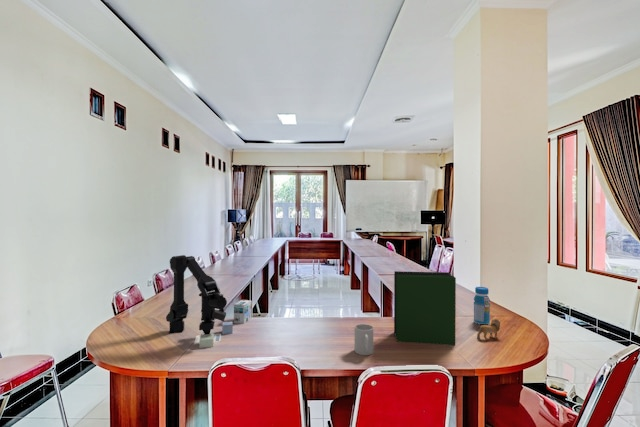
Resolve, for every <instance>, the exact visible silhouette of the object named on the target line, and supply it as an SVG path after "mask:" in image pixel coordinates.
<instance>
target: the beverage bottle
mask: <svg viewBox="0 0 640 427" xmlns="http://www.w3.org/2000/svg"><path fill="white" fill-rule="evenodd" d="M474 290H475V295H474V298H473V300H474V302H473V322H474V323H475V324H477V323H478V324H477V325H480V324H488V325H490V324H491V323H490V321H491V320H490V315H491V314H490V312H491V304H490V302H491V300H490V298H489V287H485V286H476V287H475V289H474ZM489 323H490V324H489Z"/></svg>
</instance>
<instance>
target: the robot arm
mask: <svg viewBox="0 0 640 427" xmlns="http://www.w3.org/2000/svg"><path fill="white" fill-rule="evenodd" d="M169 267H170V270H171V271H172V273H173V301H172V303H171V305H170V308H169V312H168V313H167V315H166V316H165V318H166V322H169V332H168V334H169V335H170V334H171V335H172V334H179V333H183V331H185V320H184V319H187V316H188V312H189V303H186V301H185V272H186V270H187V269H188V270H189V271H190V273H191V274H192V276H193V277H194V278H195V280H196V281H197V285H196V286H197V287H198V290H199V291H200V293H199V294H198V296H199V297H201V308H200V309H201V310H200V313H201V318H200V320H201V321H200V323H199V324H198V325H199V326H198V330H199V331H202V332H203V334H211V330H214V327H215V323H216V322H215V320H218V321H221V322H225V319H226V317H227V312H226V311H225V308H226V307H227V304H228V301H227V299H226V297H224V294H222V293H221V290H220V288H219V285H218V284H217V281H216V280H215V279H214V278H213V277H212V276H210V275H208V274H207V273H205V271H204V270H203V268H202V267H201V266H200V264H199V263H198V262H197V260H196V257H195V256H193V255H190V256H186V255H185V254H184V255H183V254H182V255H175V256H171V258H170V259H169Z"/></svg>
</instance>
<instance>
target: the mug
mask: <svg viewBox="0 0 640 427" xmlns="http://www.w3.org/2000/svg"><path fill="white" fill-rule="evenodd" d="M353 347H354V348H353V349H354V353H356V354H358V355H360V356H370V355H372V354H374V326H372V325H371V324H365V323H361V324H360V323H359V324H356V325H354V346H353Z"/></svg>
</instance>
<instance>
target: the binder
mask: <svg viewBox="0 0 640 427" xmlns="http://www.w3.org/2000/svg"><path fill="white" fill-rule="evenodd" d="M393 276H394V277H393V278H394V281H393V282H394V283H393V284H394V286H393V287H394V288H393V290H394V292H393V294H394V296H393V297H394V298H393V300H394V301H393V302H394V303H393V306H394V307H393V308H394V309H393V310H394V312H393V313H394V315H393V320H394V321H393V322H394V323H393V325H394V326H393V332H394V336H395V340H396V342H397V343H411V344H412V343H413V344H426V345H427V344H429V345H443V346H444V345H445V346H456V315H457V314H456V313H457V312H456V309H457V308H456V307H457V306H456V305H457V304H456V302H457V298H456V296H457V295H456V294H457V291H456V290H457V289H456V286H457V285H456V283H457V282H456V281H457V280H456V279H457V278H456V277H455V276H453V275H452V274H451V273H450V272H447V271H445V272H444V271H443V272H440V271H401V270H400V271H396V270H395V271H394V275H393Z"/></svg>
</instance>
